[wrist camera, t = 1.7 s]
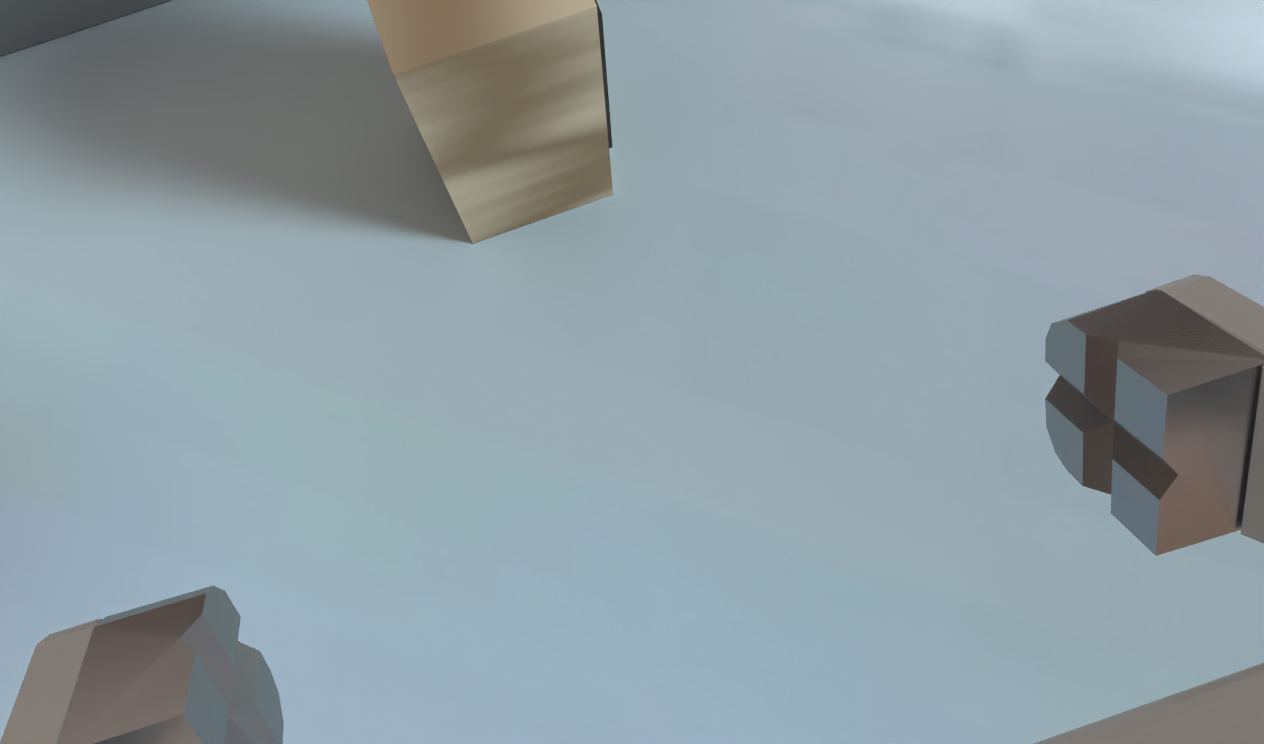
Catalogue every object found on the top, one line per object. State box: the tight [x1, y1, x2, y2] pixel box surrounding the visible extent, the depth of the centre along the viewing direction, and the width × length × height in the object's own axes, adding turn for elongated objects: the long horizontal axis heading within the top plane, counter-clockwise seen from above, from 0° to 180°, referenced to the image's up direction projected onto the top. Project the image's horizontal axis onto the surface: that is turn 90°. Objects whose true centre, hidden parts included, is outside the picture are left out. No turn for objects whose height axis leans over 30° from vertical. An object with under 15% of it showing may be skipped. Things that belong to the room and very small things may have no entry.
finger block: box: [367, 0, 613, 243], centre depth 24 cm, size 4×4×9 cm
